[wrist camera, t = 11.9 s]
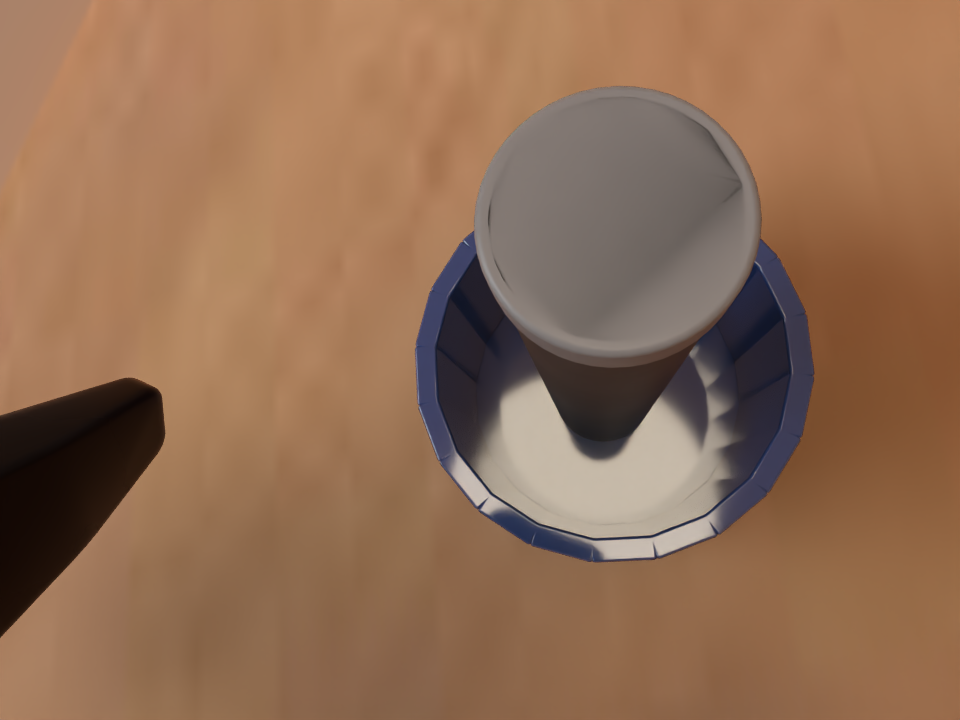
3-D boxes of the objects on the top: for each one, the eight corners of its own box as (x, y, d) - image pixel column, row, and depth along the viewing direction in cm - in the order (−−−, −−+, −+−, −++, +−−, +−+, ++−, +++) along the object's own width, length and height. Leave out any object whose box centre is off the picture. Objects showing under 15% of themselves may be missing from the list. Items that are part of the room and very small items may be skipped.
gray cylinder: (619, 463, 18) (665, 412, 6) (534, 410, 19) (420, 266, 7) (671, 378, 18) (819, 164, 6) (585, 328, 19) (566, 37, 7)
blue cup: (654, 598, 18) (678, 643, 13) (413, 440, 20) (344, 423, 14) (805, 348, 19) (889, 293, 13) (558, 211, 20) (543, 111, 15)
